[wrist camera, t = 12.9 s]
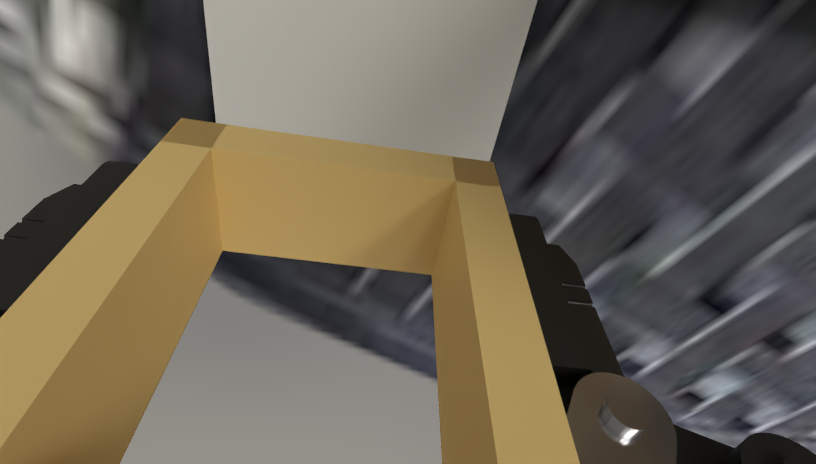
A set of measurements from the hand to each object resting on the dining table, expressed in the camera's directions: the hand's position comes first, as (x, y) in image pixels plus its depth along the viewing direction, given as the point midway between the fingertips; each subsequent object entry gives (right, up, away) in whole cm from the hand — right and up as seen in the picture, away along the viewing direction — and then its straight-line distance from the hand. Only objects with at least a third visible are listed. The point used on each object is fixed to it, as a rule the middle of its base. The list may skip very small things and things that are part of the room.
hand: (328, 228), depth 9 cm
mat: (0, +4, +6) cm, 7 cm away
